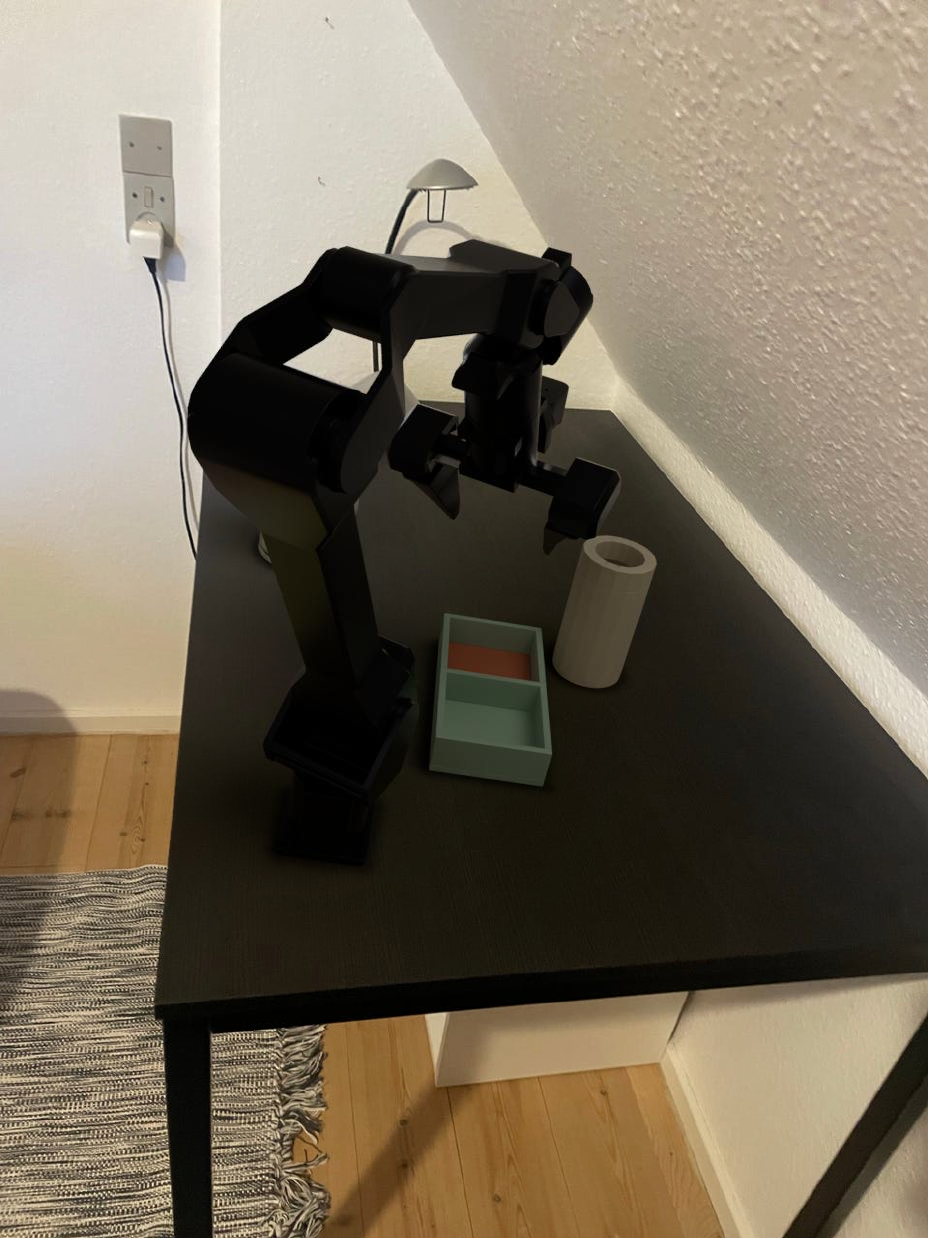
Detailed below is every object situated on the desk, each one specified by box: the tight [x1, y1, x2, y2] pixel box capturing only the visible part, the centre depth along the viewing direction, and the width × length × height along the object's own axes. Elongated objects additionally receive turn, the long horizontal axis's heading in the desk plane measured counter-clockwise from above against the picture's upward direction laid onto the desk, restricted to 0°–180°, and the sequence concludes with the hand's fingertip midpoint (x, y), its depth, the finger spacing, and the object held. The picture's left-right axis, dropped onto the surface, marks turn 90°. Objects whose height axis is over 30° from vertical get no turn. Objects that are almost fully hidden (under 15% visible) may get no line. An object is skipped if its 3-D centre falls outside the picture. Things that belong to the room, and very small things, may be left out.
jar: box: [551, 535, 658, 689], centre depth 90 cm, size 7×7×13 cm
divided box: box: [428, 612, 553, 787], centre depth 84 cm, size 18×10×4 cm, turn 178°
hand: (501, 533), depth 84 cm, fingers open, 9 cm apart
